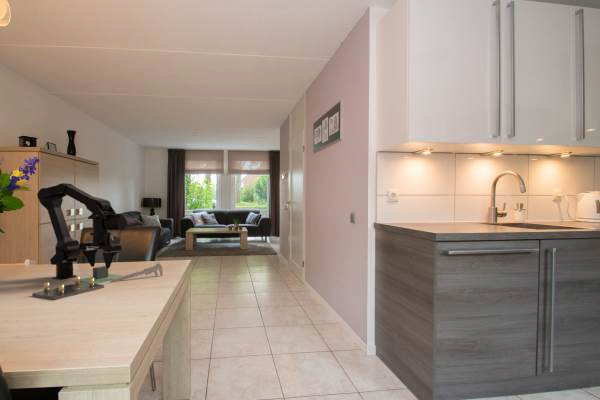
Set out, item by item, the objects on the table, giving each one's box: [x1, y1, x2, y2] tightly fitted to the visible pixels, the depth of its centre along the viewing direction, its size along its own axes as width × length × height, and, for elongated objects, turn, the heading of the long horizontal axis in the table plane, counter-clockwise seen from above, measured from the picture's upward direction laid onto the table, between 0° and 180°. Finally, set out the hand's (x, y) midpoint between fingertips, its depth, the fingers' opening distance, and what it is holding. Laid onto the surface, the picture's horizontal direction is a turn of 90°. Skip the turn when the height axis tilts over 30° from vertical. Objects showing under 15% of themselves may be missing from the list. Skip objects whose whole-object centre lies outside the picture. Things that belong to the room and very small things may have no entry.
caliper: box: [109, 261, 164, 283], centre depth 148 cm, size 20×1×6 cm, turn 127°
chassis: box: [31, 275, 105, 301], centre depth 127 cm, size 12×18×4 cm, turn 156°
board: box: [80, 265, 123, 284], centre depth 146 cm, size 11×14×6 cm
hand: (100, 267), depth 146 cm, fingers open, 9 cm apart
